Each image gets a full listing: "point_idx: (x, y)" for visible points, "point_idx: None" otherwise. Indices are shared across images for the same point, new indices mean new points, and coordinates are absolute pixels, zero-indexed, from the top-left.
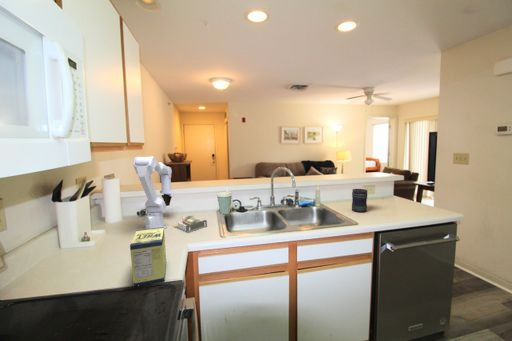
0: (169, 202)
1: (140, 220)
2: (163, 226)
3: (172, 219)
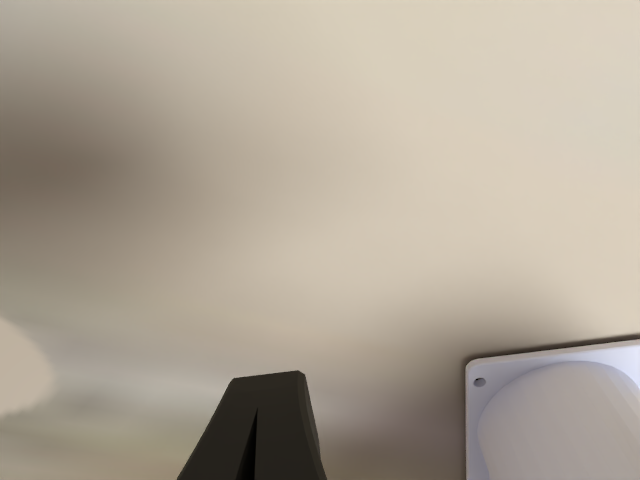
0: (316, 463)
1: (79, 477)
2: (630, 380)
3: (338, 147)
